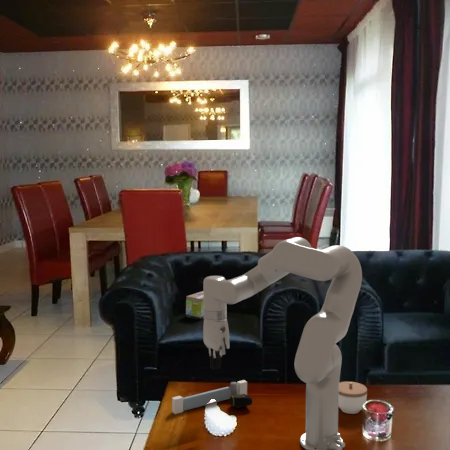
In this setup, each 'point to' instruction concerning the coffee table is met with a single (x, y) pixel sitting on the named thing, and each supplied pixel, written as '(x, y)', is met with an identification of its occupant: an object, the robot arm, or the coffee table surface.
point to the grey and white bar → (234, 389)
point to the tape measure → (240, 400)
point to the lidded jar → (351, 397)
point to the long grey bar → (205, 398)
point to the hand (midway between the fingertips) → (215, 368)
